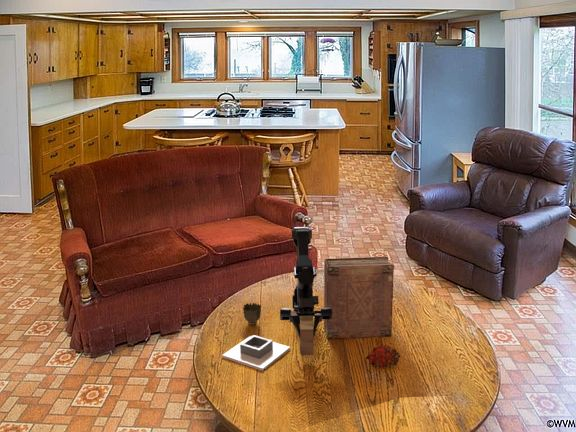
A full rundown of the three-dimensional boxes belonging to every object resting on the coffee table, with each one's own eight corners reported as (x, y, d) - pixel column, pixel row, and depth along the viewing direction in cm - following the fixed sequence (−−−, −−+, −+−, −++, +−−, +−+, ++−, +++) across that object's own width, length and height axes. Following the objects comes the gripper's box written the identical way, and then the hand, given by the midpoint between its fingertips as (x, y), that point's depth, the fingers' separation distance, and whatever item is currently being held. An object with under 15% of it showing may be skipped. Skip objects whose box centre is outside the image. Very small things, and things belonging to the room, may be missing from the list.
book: (385, 326, 238) (388, 256, 230) (391, 336, 230) (394, 264, 221) (323, 328, 237) (324, 258, 228) (327, 339, 228) (327, 267, 220)
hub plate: (251, 337, 230) (251, 327, 229) (290, 349, 221) (290, 338, 219) (222, 357, 215) (222, 346, 214) (262, 370, 206) (262, 359, 205)
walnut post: (299, 348, 214) (299, 316, 210) (312, 348, 214) (312, 315, 210) (300, 355, 209) (300, 321, 206) (313, 354, 209) (313, 321, 206)
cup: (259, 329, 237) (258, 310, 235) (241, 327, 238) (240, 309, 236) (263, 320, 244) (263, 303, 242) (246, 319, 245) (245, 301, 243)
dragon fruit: (402, 371, 208) (368, 375, 209) (398, 349, 213) (365, 353, 214) (402, 361, 201) (367, 365, 202) (398, 339, 206) (363, 343, 207)
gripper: (279, 287, 209) (280, 330, 201) (332, 286, 209) (334, 329, 202) (279, 299, 219) (280, 340, 211) (329, 298, 219) (332, 339, 211)
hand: (306, 336), depth 208 cm, fingers closed on walnut post, 5 cm apart
